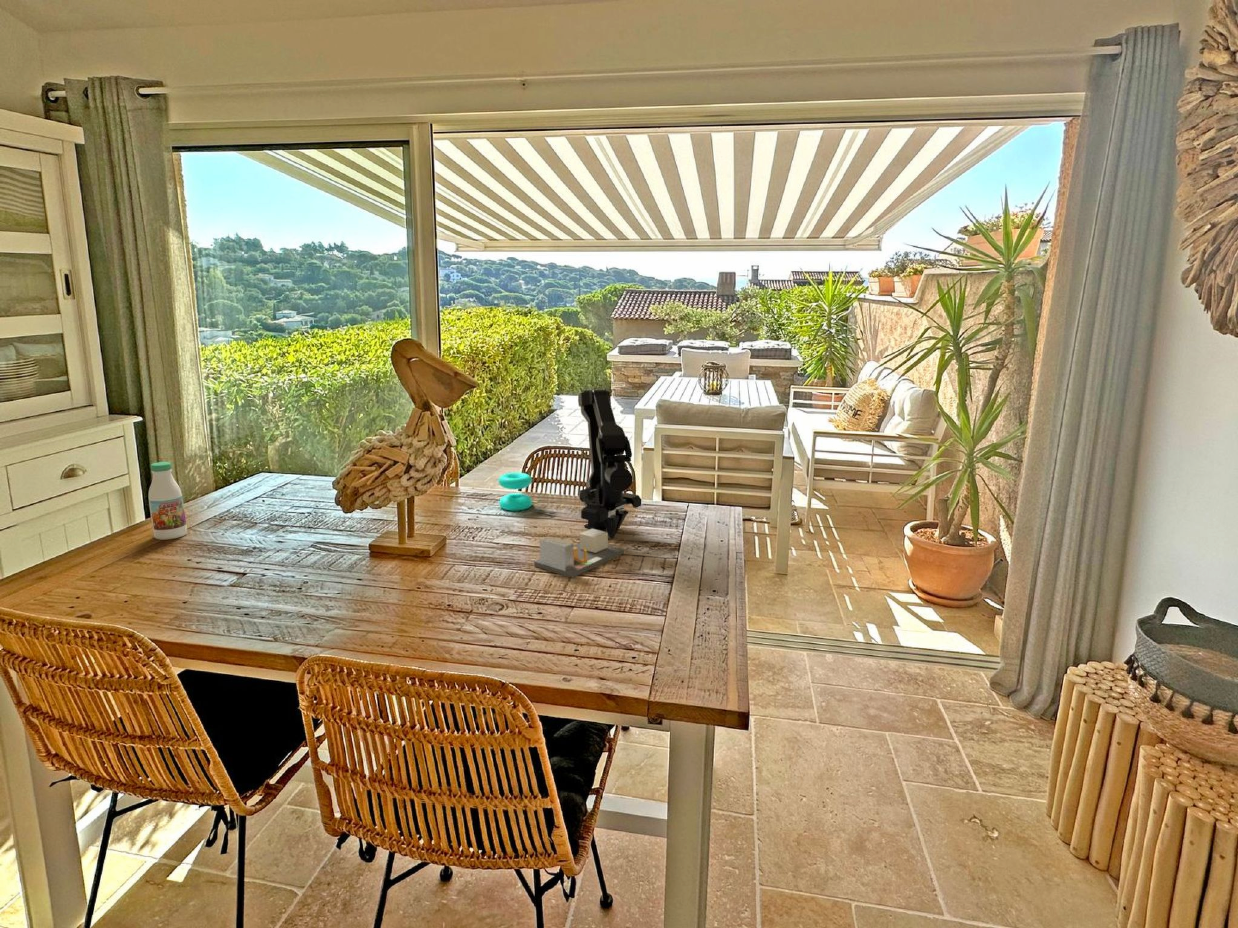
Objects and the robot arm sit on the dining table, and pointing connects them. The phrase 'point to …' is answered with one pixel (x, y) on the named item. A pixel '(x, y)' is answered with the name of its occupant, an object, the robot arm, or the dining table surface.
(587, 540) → the block
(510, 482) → the donuts
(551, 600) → the dining table surface
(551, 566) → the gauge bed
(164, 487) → the milk bottle
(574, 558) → the needle rider
